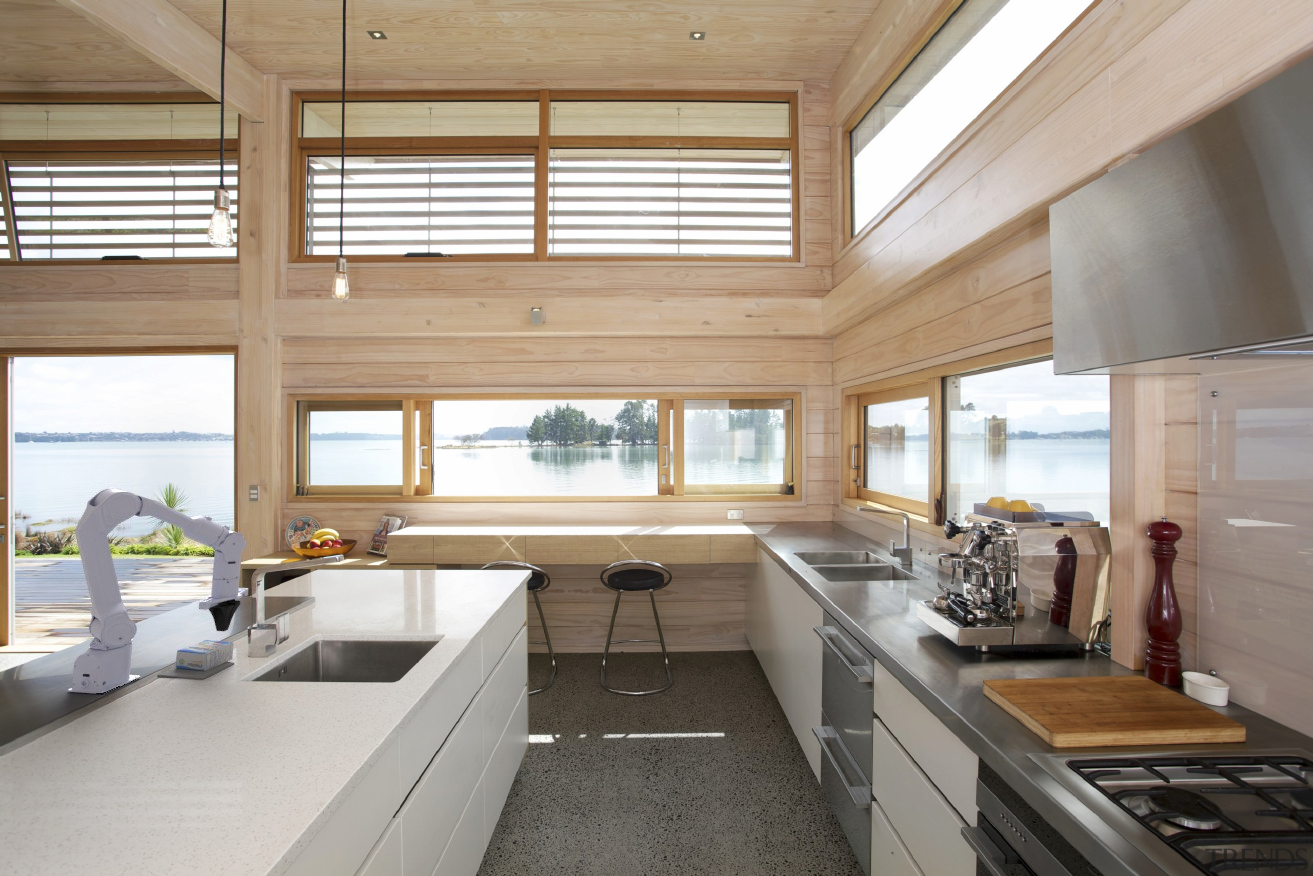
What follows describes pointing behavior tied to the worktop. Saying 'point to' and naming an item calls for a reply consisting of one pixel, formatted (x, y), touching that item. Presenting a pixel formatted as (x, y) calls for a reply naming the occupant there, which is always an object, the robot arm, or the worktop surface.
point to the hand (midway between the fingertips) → (222, 630)
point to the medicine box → (204, 655)
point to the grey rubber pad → (194, 672)
